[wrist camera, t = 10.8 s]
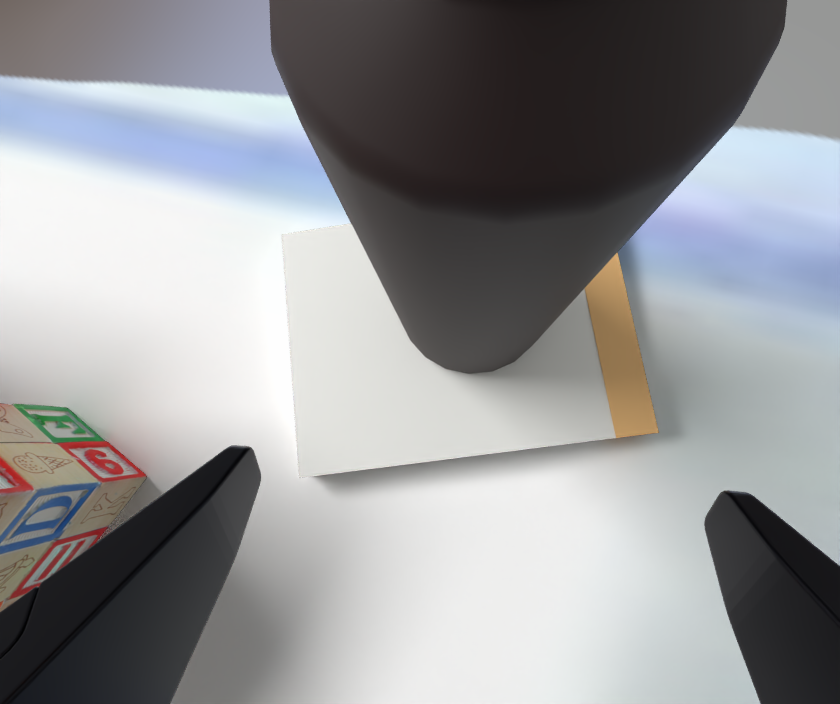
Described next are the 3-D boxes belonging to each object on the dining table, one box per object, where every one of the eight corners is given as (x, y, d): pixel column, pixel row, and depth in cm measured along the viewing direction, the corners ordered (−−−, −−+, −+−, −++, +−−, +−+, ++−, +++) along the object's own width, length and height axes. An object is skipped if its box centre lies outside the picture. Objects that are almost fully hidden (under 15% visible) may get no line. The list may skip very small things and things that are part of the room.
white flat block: (643, 432, 20) (658, 432, 18) (310, 474, 21) (298, 478, 19) (591, 199, 22) (601, 182, 21) (292, 246, 23) (281, 233, 22)
